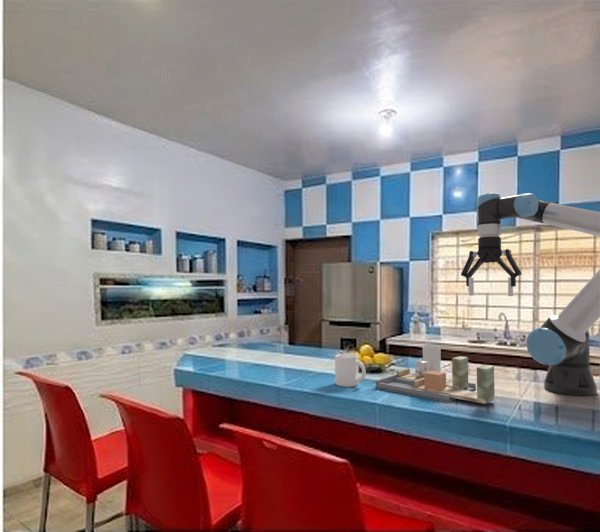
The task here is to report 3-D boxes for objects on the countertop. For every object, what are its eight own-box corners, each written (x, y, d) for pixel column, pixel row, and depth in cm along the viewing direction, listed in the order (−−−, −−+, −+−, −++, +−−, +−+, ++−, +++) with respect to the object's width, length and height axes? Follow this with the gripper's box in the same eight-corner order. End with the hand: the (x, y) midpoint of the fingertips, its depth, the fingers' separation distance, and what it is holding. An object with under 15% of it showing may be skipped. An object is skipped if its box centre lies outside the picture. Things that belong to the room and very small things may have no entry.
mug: (371, 385, 152) (371, 356, 152) (358, 390, 145) (358, 359, 146) (343, 380, 159) (343, 352, 160) (330, 384, 153) (330, 355, 154)
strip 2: (495, 398, 130) (494, 365, 131) (486, 404, 125) (486, 369, 125) (423, 386, 146) (423, 356, 146) (412, 390, 141) (412, 359, 141)
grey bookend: (436, 379, 161) (436, 347, 162) (420, 377, 166) (419, 345, 166) (446, 375, 169) (446, 344, 170) (430, 372, 173) (430, 343, 174)
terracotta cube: (446, 388, 139) (445, 372, 140) (439, 391, 136) (439, 375, 136) (431, 385, 143) (431, 370, 143) (424, 388, 139) (424, 372, 139)
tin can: (430, 378, 154) (430, 361, 154) (424, 380, 151) (424, 363, 151) (419, 376, 157) (418, 360, 157) (413, 378, 154) (413, 361, 154)
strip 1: (469, 386, 146) (468, 356, 146) (460, 390, 141) (459, 359, 141) (406, 376, 162) (406, 349, 162) (396, 379, 156) (396, 352, 157)
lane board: (475, 389, 146) (475, 381, 147) (448, 402, 130) (448, 393, 130) (407, 377, 164) (407, 370, 164) (375, 388, 148) (375, 380, 148)
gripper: (530, 235, 149) (531, 296, 148) (459, 240, 166) (460, 294, 165) (524, 233, 143) (525, 296, 143) (451, 238, 160) (452, 295, 159)
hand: (490, 295), depth 154 cm, fingers open, 13 cm apart
